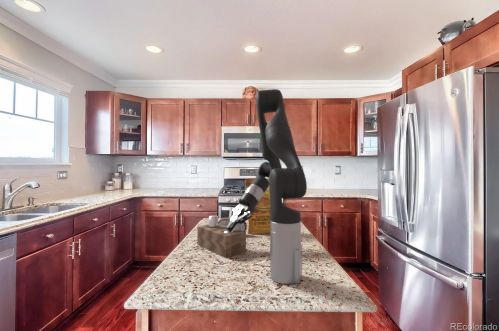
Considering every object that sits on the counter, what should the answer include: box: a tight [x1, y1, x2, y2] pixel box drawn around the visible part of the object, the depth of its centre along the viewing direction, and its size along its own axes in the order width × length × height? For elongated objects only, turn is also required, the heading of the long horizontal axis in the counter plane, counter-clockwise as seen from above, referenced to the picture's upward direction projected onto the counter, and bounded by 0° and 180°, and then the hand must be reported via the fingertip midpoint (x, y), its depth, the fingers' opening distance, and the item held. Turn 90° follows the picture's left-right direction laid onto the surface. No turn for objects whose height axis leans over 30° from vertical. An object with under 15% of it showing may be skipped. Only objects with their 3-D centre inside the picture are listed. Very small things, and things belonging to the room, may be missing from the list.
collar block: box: [196, 224, 247, 259], centre depth 105 cm, size 21×10×8 cm, turn 41°
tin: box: [218, 217, 248, 232], centre depth 126 cm, size 15×3×8 cm, turn 84°
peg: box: [208, 215, 219, 228], centre depth 109 cm, size 4×4×8 cm
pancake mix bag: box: [244, 178, 270, 235], centre depth 131 cm, size 7×19×28 cm, turn 103°
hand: (228, 230), depth 101 cm, fingers closed
